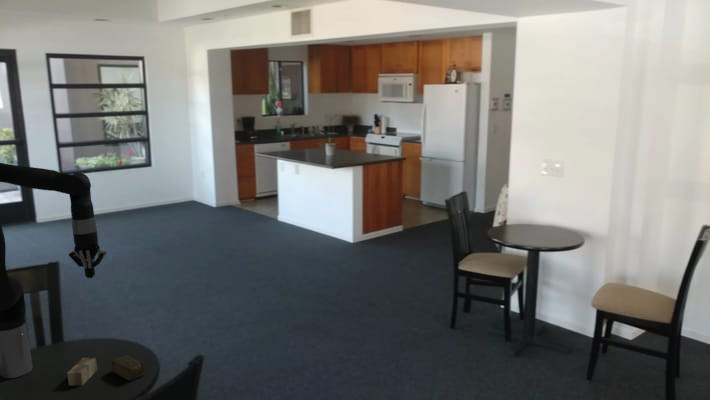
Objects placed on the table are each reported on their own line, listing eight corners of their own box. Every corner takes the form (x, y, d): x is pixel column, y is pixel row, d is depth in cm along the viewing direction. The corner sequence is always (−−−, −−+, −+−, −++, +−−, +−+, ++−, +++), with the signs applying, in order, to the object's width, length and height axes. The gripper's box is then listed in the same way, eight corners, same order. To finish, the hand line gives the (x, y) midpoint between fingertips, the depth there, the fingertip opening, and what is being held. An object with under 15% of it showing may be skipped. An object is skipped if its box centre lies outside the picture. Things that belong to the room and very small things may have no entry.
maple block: (84, 369, 191) (68, 385, 181) (83, 357, 190) (67, 372, 180) (97, 369, 191) (82, 385, 181) (95, 357, 190) (80, 373, 180)
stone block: (130, 383, 182) (128, 369, 181) (111, 373, 189) (109, 359, 188) (146, 375, 187) (144, 362, 186) (126, 366, 194) (125, 352, 192)
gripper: (60, 233, 190) (66, 281, 193) (98, 233, 189) (103, 281, 193) (71, 227, 197) (77, 273, 201) (108, 227, 196) (113, 273, 200)
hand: (90, 277), depth 197 cm, fingers closed
